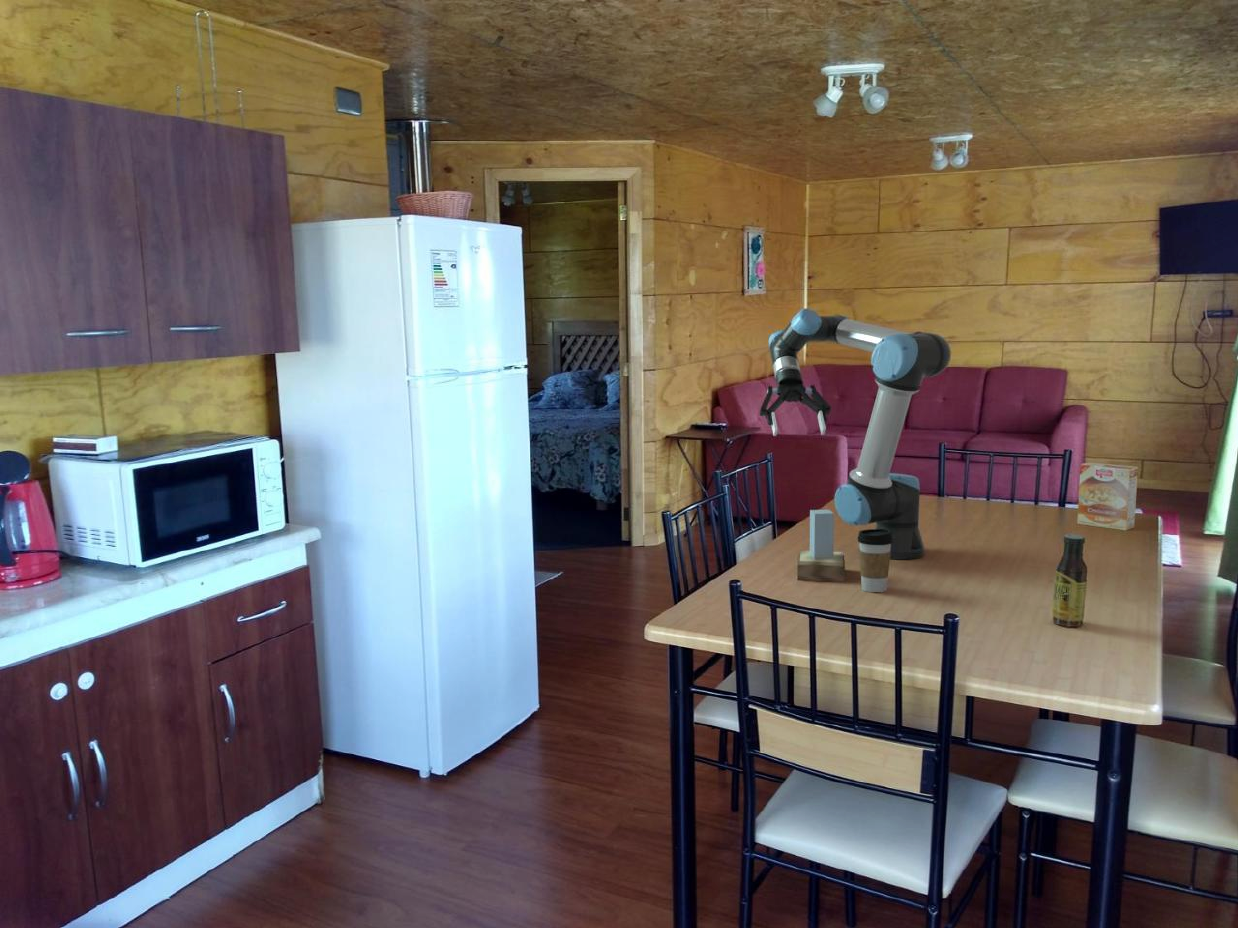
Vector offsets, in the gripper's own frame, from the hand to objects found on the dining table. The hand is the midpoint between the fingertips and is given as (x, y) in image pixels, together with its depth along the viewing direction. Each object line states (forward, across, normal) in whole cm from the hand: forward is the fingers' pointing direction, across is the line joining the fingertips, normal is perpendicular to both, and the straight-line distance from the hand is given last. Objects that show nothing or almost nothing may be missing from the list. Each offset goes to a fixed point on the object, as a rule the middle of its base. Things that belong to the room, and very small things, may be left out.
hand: (799, 432), depth 261 cm
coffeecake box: (+7, -105, -44) cm, 114 cm away
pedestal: (+39, -1, -11) cm, 41 cm away
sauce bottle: (+72, -44, +21) cm, 87 cm away
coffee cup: (+50, -11, -1) cm, 51 cm away
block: (+36, -1, -8) cm, 36 cm away
